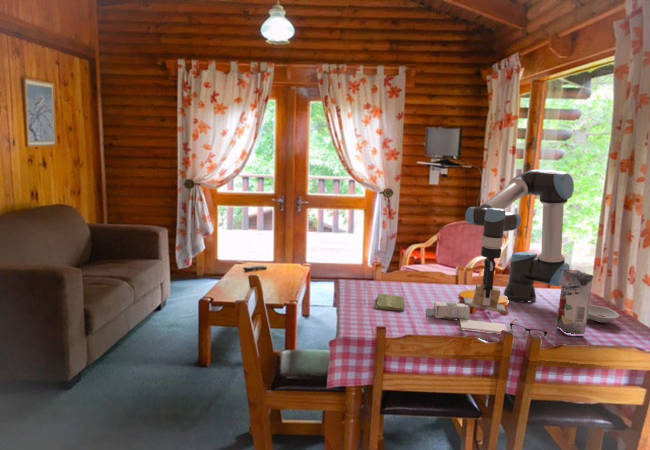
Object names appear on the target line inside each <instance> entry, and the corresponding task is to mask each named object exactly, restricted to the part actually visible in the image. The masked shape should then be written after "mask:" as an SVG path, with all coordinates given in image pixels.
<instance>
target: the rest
mask: <svg viewBox="0 0 650 450" xmlns="http://www.w3.org/2000/svg"><path fill="white" fill-rule="evenodd" d="M460 324H461V326H460V330H461V329H469V330H480V331H485V332H494V333H500V331H502V330H506V331H508V330H507V329H508V328H507V326H506V324H505V323H497V322H490V321H479V320H471V319H469V320H464V319H460V321H459V325H460Z"/></svg>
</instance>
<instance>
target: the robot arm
mask: <svg viewBox="0 0 650 450" xmlns="http://www.w3.org/2000/svg"><path fill="white" fill-rule="evenodd" d="M574 187H575V183H574V180H573V177H572V176H571V174H570V173H568V172H565V171H558V170H542V169H531V170H528V171H525V172H522V173H520V174H518V175H516V176H515V177H514V178H512V179H511V180H510V181H509V182H508V184H507V185H506V186H505V187H504V188H502V189H501V190H500V191H498V192H497V193H496V194H494V195H493V196H491V197H490V198H488V199H487V200H486V201H485V202H483V203H482V204H481V205H480V206H478V207H476V206H470V207H468V208H467V210H466V211H465V216H464V217H465V221H466V222H467V224H470V225H473V226H477V227H483V234H482V235H483V236H482V237H481V238H480V240H481V241H482V243H481V249H480V250H481V251H480V256H482V257H484V258H485V259H484V262H483V263H484V267H483V277H482V278H483V279H482V285H485V288H483V290H484V296H483V305H487V306H490V299H491V290H492V289H493V288H492V287H494V286H493V285H494V279H495V269H496V266H497V265H496V264H497V263H496V261H495V259H500V258H501V257H502V247H503V242H504V241H503V239H504V232H508V231H514V230H517V229H518V228H520V226H521V224H522V217H521V216H520V215H519V213H517V212H515V211H506V210H505V209H507V208H508V207H509V206H510V205H512V204H513V203H514V202H515V201H517V200H519V198H524V197H526V196H528V195H529V196H530V195H532V196H537V197H539V202H540V203H541V204H542V226H541V227H542V229H541V231H542V232H541V253H539V254H538V253H537V252H533V251H532V252H531V251H519V252H518V251H517V252H514V253H513V254H512V255H511V258H510V264H509V265H510V266H509V277H508V282H507V284H506V286H505V288H504V291H503V295H505V296H507V297H508V298H509V299H511V300H510V301H513V300H515V301H514V302H517V301H523V302H522V303H526V302H528V301H534V300H537V295H536V294H537V293H536V290H535V285H534V284H535V282H537V283H541V284H545V285H548V286H553V287H562V280H563V272H564V270H570V269H571V267H570V264H568V262H565V261H566V258H565V256H564V254H562V250H563V249H562V245H563V225H564V206H565V204H566V203H568V201H569V199H570V198H572V196H573V193H574V191H575V188H574ZM509 299H508V300H509ZM534 302H535V301H534Z"/></svg>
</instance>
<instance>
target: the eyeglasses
mask: <svg viewBox="0 0 650 450" xmlns="http://www.w3.org/2000/svg"><path fill="white" fill-rule="evenodd" d="M515 321H517V322H518V320H517V318H514V319H513V320H512V321H511V322H510V323H509V326H510V330H511V329H512V330H513V326H517V327H521V328H523V329H524V333H526V332H528V333H530V334H531V331H539V332H543V334H544V336H545V337H547V336H546V335H548V333H549V332H550V330H552V329H553V326H550V327H549V328H548V330H547V331H546V330H541V329H534V328H527V327H524V326H521V325H519V324H514V322H515ZM544 336H543V337H544Z"/></svg>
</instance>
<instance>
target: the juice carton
mask: <svg viewBox="0 0 650 450" xmlns="http://www.w3.org/2000/svg"><path fill="white" fill-rule="evenodd" d="M593 279H594V276H593V275H592V274H589V273H587V272H585V271H583V270H582V269H577V268H574V267H572V268H571V267H570V269H569V270H564V272H563V280H562V285H561V286H560V288H561V289H560V295H559V302H558V311H557V318H556V328H557V327H559V328H561V329H562V330H563V331H564V332H566V333H571V334H574V333H575V334H584V333H586V327H587V320H588V317H587V315H588V308H589V305H590V301H591V294H592V286H593ZM584 335H585V334H584Z"/></svg>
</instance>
